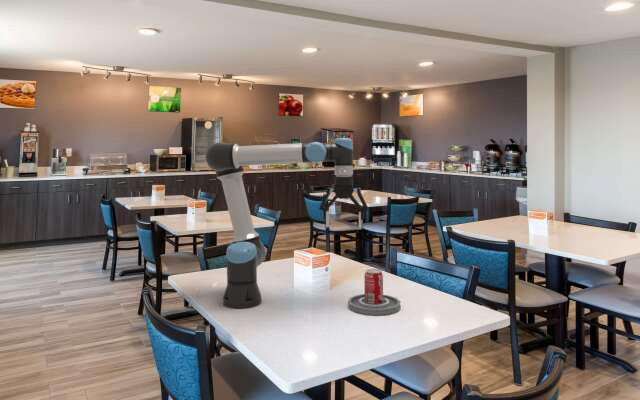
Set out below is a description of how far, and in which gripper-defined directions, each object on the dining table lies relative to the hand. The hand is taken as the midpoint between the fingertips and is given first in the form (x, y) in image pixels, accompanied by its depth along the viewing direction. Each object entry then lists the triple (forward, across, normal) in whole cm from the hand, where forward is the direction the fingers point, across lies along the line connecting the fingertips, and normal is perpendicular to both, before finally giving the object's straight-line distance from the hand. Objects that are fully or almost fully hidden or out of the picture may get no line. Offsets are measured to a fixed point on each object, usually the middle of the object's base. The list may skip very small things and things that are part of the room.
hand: (343, 227), depth 195 cm
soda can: (+28, +14, -13) cm, 34 cm away
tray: (+29, +14, -13) cm, 34 cm away
